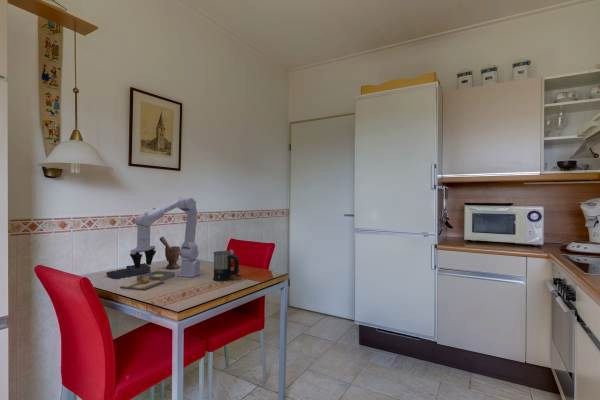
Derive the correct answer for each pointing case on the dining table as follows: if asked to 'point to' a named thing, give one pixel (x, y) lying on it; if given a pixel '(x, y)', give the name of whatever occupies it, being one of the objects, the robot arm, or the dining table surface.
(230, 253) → the food container
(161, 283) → the mat
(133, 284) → the lid
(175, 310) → the dining table surface
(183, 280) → the dining table surface
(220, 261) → the milk frother
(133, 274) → the dark slate chunk
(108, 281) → the dining table surface
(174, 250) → the mortar and pestle
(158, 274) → the dish
